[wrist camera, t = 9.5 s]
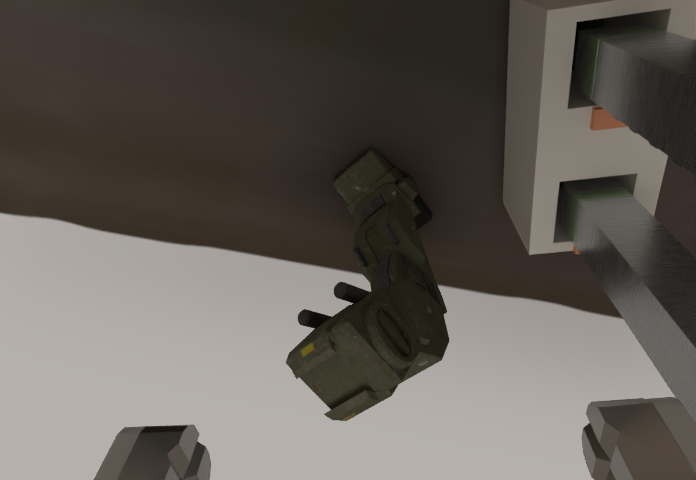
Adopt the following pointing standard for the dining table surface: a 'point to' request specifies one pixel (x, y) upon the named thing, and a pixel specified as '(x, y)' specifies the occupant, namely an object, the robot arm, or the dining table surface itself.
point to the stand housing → (571, 115)
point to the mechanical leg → (376, 298)
